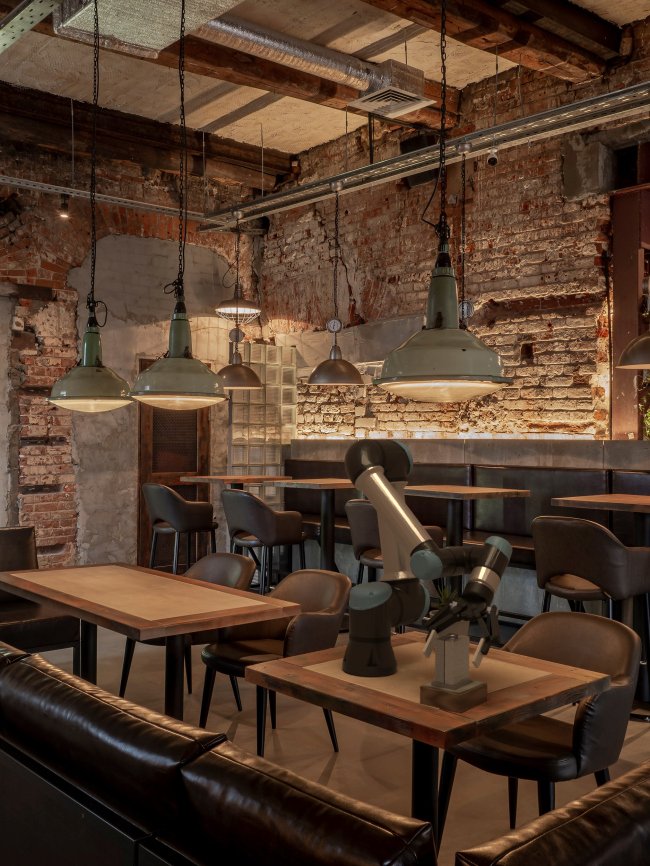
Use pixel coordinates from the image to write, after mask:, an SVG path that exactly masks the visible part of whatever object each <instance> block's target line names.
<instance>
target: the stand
mask: <svg viewBox="0 0 650 866" xmlns="http://www.w3.org/2000/svg"><path fill="white" fill-rule="evenodd" d="M433 681H435V679H434V680H433ZM431 682H432V681H430V682H426V683H425V684H422V685H421V686H420V687H419V704H421V705H425V706H428V707H429V706H430V707H433V708H436V709H442V710H446V711H450V712H453V713H458V714H462V713H463V712H466V711H468V710H470V709H472V708H474V707H476V706H479V705H481V704H483V703H485V702H487V701H488V683H485V682H484V681H480V680H477V679H475V680H474V679H473V682H472V683H469V684H467V685H465V686H463V687H461V688H459V689H457V690H451V689H446V688H441V687H436V686H432V685H431Z"/></svg>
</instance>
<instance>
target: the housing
mask: <svg viewBox="0 0 650 866" xmlns="http://www.w3.org/2000/svg"><path fill="white" fill-rule="evenodd" d="M434 650H435V651H434V680H435V681H434V680H432V681H430V682H431V685H432V686H436V687H441V688H446V689H451V690H457V689H459V688H461V687H463V686H465V685H467V684H469V683H472V682H473V680H474V679H473V678H471V677H470V636H468V635H467V636H463V635H458V634H455V633H449V634H447V635H446V636H443V637H440V638H437V639H435V646H434Z"/></svg>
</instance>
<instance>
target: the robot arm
mask: <svg viewBox="0 0 650 866" xmlns="http://www.w3.org/2000/svg"><path fill="white" fill-rule="evenodd" d="M413 468H414V457H413V454H412V452H411V449H409V447H408V446H407V445H406V444H404V443H403V442H401V441H400V440H399V441H398V440H393V439H370V438H364V439H359V440H357V441H355V442H353V443H352V444H350V446H349V448H348V449H347V450H346V453H345V455H344V470H345V472H346V475H347V477H348V479H349V481H350V482H351V484H352V485H353V486H354V488H355V489H356V490H357V491H360V492H361V491H362V493H363V494H364V495H365V497H366V499H368V501H369V502H370V504H371V506H373V508H374V509H375V511H376V514H377V523H378V525H377V526H378V533H379V540H380V550H381V558H382V559H381V560H382V567H383V574H382V576H381V577H380V579H379V581H371V582H363V583H359V584H356V585H355V586H353V587H352V588H351V589H350V591H349V600H348V643H347V645H346V646H347V647H346V649H345V652H344V655H343V658H342V663H341V664H342V665H341V667H342V668H341V669H342V671H343V672H345V673H347V674H350V675H352V676H353V675H354V676H358V677H359V676H360V677H383V676H384V677H385V676H386V677H387V676H389V675H392V674H395V673H397V671H398V663H397V658H396V656H395V652H394V649H393V645H392V640H391V639H392V628H396V627H400V626H401V627H402V626H407V625H408V626H409V625H413V624H414V623H417V622H420V621H422V620H423V619H424V618H425V616H427V614H428V612H429V610H430V605H431V599H430V598H431V596H430V593H429V591H428V589H427V588H426V586H425V585H424V584H422V583H421V581H423V580H424V581H427V580H428V581H429V580H430V581H431V580H432V581H433V580H436V579H441V578H447V577H448V578H449V577H455V576H456V577H457V576H461V575H462V576H463V575H469V577H468V579H467V583H466V584H465V587H464V589H463V590H462V593H461V597H460V598H461V600H460V601H459V600H458V601H459V602H454V600H452V599H448V601H447V602H446V604H445V605H444V606H441V607H442V608H441V609H438V610H439V611H438V612H437V613H436V614H435V615H434V616H432V617H431V618H430V617H429V619H428V620H426V622H425V623H424V627H425V629H426V630H427V632H428V633H427V635H426V636H425V640H424V641H425V645H424V647H423V649H422V654H423V655H424V657H425V658H426V659H430V657H431V655H432V654H433V653H432V652H433V651H434V650H435V639H437V638H439V636H438V633H440V632H441V631H443V630H445V629H446V628H448V627H449V626H451V625H453V624H454V623H456V622H460V621H461V620H463V621H470V622H471V623H476V622H478V625H479V628H480V630H481V631H482V635H483V637H484V638H482V637H481V638H480V640H479V642H478V645H477V646H476V647H477V648H476V650H475V652H474V654H473V657H472V659H471V662H472V664H473V667H474V668H475V669H479V668H480V665H481V663H482V661H483V658H484V656H487V655H488V653H489V651H490V649H491V646H492V645H493V644H497V645H499V644H501V643H502V641H501V632H500V625H499V616H500V610H499V609H498V607H497V605H495V604H492V602H493V600H494V597H495V595H496V593H497V590H498V588H499V586H500V583H501V580H502V578H503V576H504V573H505V571H506V569H507V567H508V565H509V563H510V559H511V557H512V553H513V547H512V545H511V544H510V542H509V541H508V540H507V539H504V538H502V537H500V536H497V535H491V536H490V537H488V538H486V540H485V542H484V543H483V544H482V545H475V546H470V545H469V546H466V545H464V546H457V545H453V546H446V547H443V548H439V546H438V545H437V543H436V542H435V541H434V540H433V538H432V537H431V536H430V535H429V533H428V532H427V530H426V529H425V528H424V526H423V525H422V524H421V522H420V521H419V519H418V518H417V517H416V516H415V514H414V513H413V511H412V510H411V509H410V508H409V507H408V505H407V503H406V499H405V491H404V490H405V488H406V486H407V485H408V484H409V480H408V479H409V478H408V477H409V476H410V474H411V473H412V470H413ZM491 605H492V606H491ZM455 608H456V609H455ZM451 612H452V613H451ZM457 613H459V615H460V616H457ZM486 615H489V619H490V625H491V634H492V635H491V634H490V632H489V630H488V627H487V625H486V622H485V620H484V617H485V616H486Z"/></svg>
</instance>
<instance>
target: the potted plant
mask: <svg viewBox="0 0 650 866" xmlns="http://www.w3.org/2000/svg"><path fill="white" fill-rule="evenodd" d="M437 587H438V590H437V589H435V592H436V594H437V596H438V598H439V600H440V601H439V602H440V603H439V604H437V603H436V604H433V603H430V606H431V607H433V608H434V607H436V608H438V609H435V610H431V611H429V619H430V618H431V617H432V616H434V615H435V614H436V613H437V612H438V611H439V610H440V609H441V608H442V607H443V606H444V605H445V604H446V602H447V601H448V599H452V601H454V602H459V601H460V600H461V597H460V596H458V597H456V598H455V596H456V594H457V593H458V591H457V590H458V589H457V588H456V589H454V591H453V592H451V591H449V590H451V585H447V587H444V588H443V590H442V591H441V589H440V586H439V585H437ZM448 589H449V590H448ZM438 591H439V593H440V595H441V596H440V595H439V593H438ZM430 606H429V607H430ZM455 609H456V608H455ZM451 613H452V612H451ZM457 616H460V615H459V613H457ZM470 622H471V621H463V620H461V621H460V622H456V623H454V624H453V625H451V626H449V627H448V628H446V629H445V630H443V631H441V632H440V633H438V636H439V638H440V637H443V636H446V635H447V634H449V633H455V634H458V635H463V636H468V634H469V633H468V632H469V627H470Z"/></svg>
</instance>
